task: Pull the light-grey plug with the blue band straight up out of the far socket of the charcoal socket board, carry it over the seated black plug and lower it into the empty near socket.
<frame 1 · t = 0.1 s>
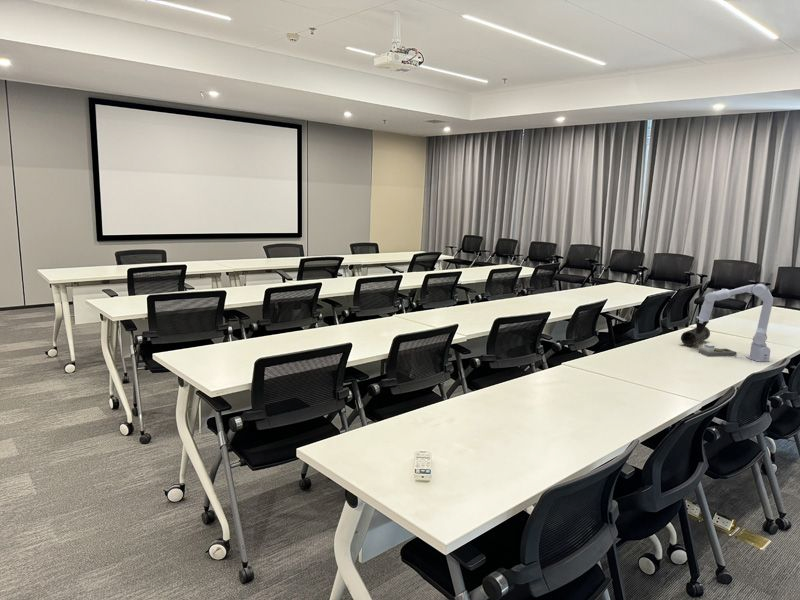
hand: (699, 332, 331), 10 cm above the table, tool pointing down, fingers open, 7 cm apart
socket board: (717, 354, 322), on the table
grey plug: (708, 354, 321), resting in socket board
muzzle brake: (694, 344, 347), on the table
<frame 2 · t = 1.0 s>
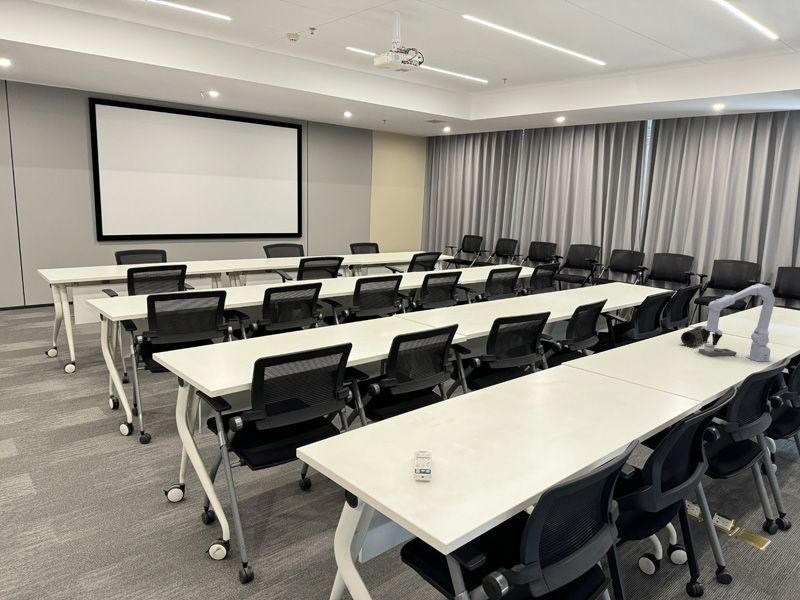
hand: (709, 343, 319), 7 cm above the table, tool pointing down, fingers open, 7 cm apart
nothing on the table moved.
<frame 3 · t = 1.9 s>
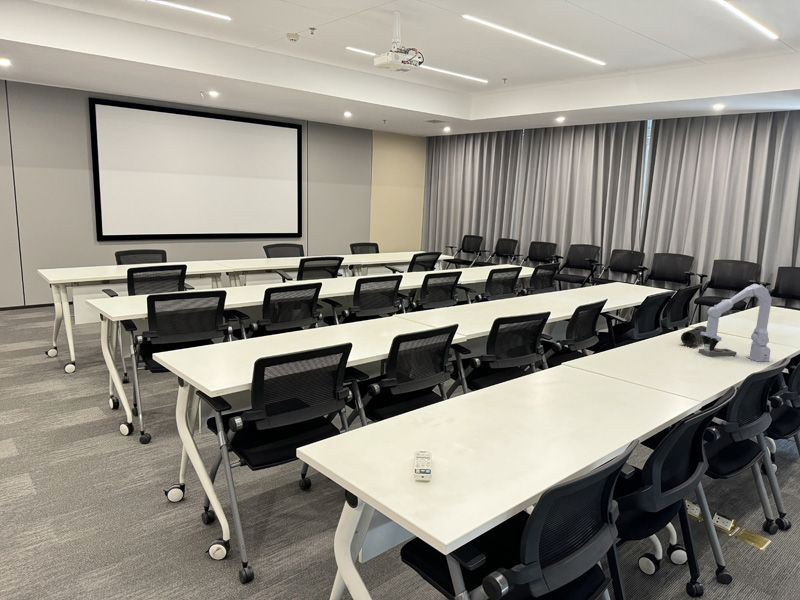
hand: (708, 349, 320), 3 cm above the table, tool pointing down, fingers closed on grey plug, 4 cm apart
grey plug: (708, 354, 321), resting in socket board, touching gripper
everything else where it was.
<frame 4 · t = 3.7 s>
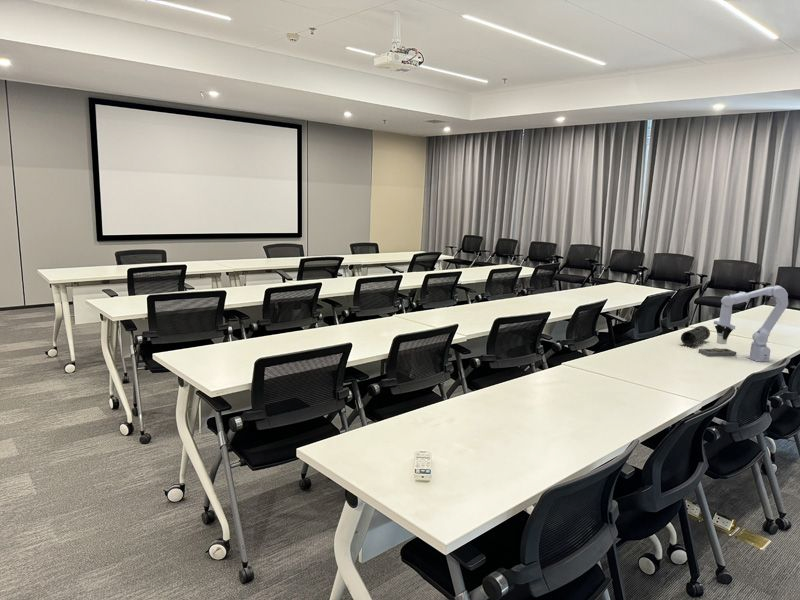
hand: (722, 338, 320), 10 cm above the table, tool pointing down, fingers closed on grey plug, 4 cm apart
grey plug: (721, 343, 321), point 7 cm above the table, touching gripper
everything else where it was.
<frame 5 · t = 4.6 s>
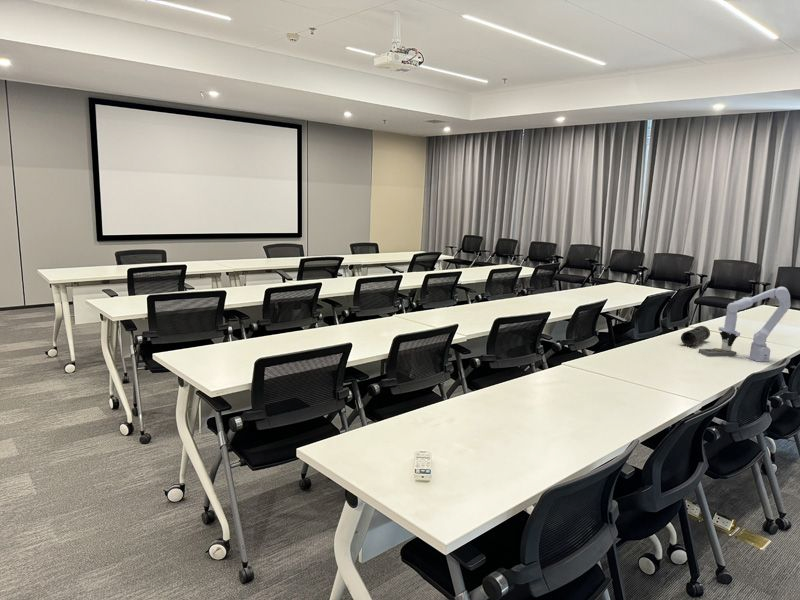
hand: (727, 345, 322), 6 cm above the table, tool pointing down, fingers closed on grey plug, 4 cm apart
grey plug: (726, 349, 322), point 3 cm above the table, touching gripper
everything else where it was.
when the fingers open (4 cm above the table, at t = 5.3 s): grey plug drops 1 cm, resting in socket board.
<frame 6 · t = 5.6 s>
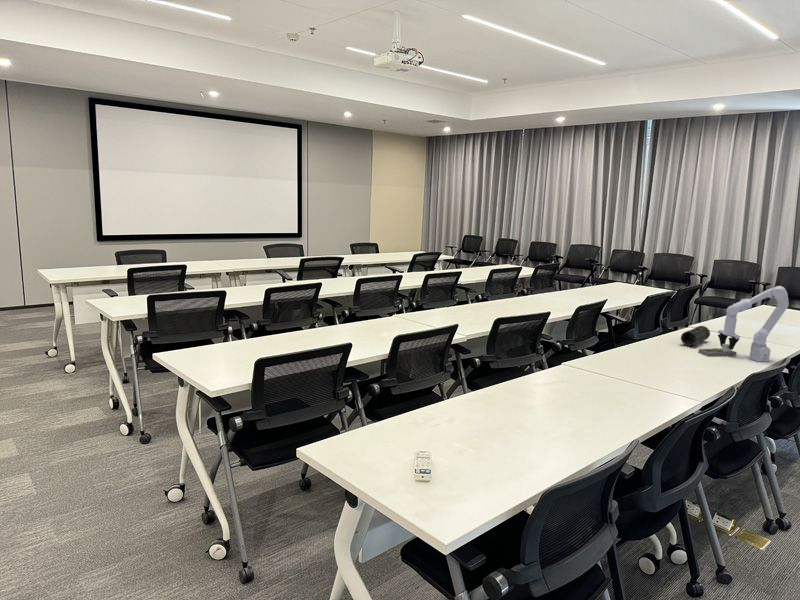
hand: (726, 347, 322), 4 cm above the table, tool pointing down, fingers open, 6 cm apart
grey plug: (725, 354, 323), resting in socket board
everything else where it was.
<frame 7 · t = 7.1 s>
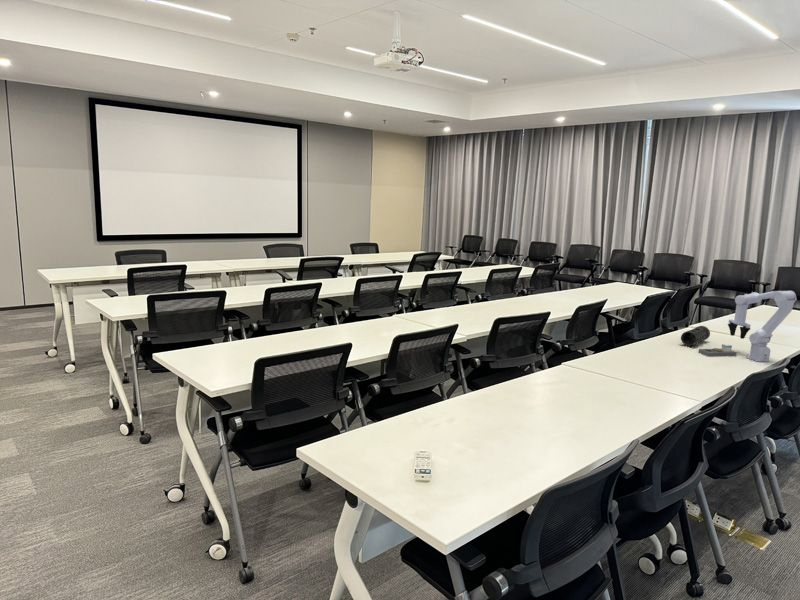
hand: (737, 336, 326), 10 cm above the table, tool pointing down, fingers open, 7 cm apart
nothing on the table moved.
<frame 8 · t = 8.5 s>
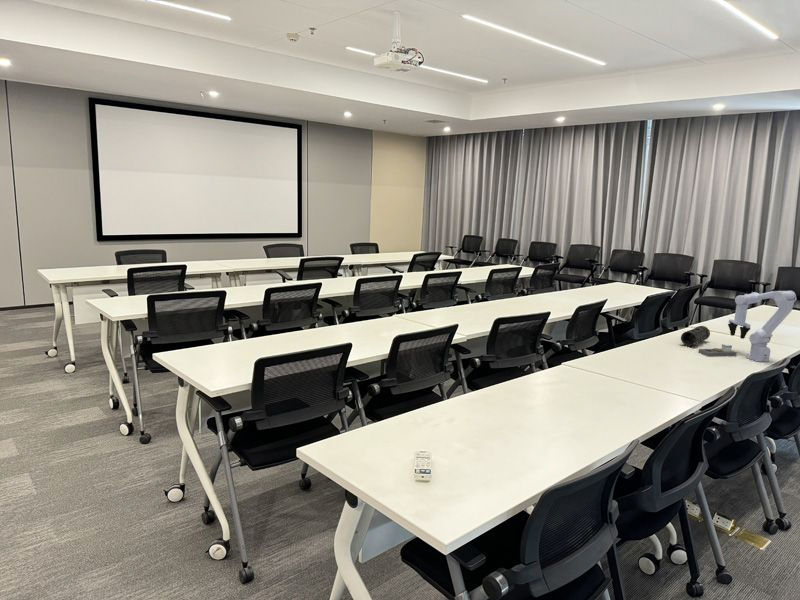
hand: (737, 336, 326), 10 cm above the table, tool pointing down, fingers open, 7 cm apart
nothing on the table moved.
at the end: grey plug 0.2 cm from the target spot on the socket board, point 0.0 cm above the socket board's base; grey plug tilted 0°; the gripper is holding nothing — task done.
